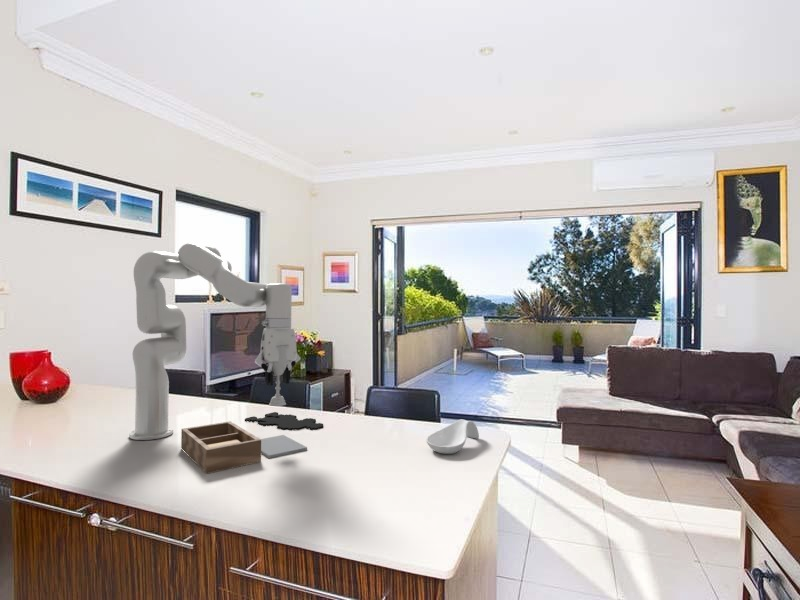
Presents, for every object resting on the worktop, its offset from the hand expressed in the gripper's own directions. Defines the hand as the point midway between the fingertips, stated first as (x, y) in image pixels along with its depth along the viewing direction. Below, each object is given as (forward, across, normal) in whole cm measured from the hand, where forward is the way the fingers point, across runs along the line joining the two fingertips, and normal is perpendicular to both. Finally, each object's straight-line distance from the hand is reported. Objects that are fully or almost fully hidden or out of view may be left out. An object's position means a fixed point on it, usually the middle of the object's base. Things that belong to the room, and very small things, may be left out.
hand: (277, 383), depth 139 cm
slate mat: (+19, 0, 0) cm, 19 cm away
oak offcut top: (+17, -16, -2) cm, 24 cm away
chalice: (+7, 0, 0) cm, 7 cm away
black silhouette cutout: (+20, +15, +24) cm, 35 cm away
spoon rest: (+20, +44, -32) cm, 58 cm away
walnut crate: (+19, -16, +3) cm, 25 cm away
